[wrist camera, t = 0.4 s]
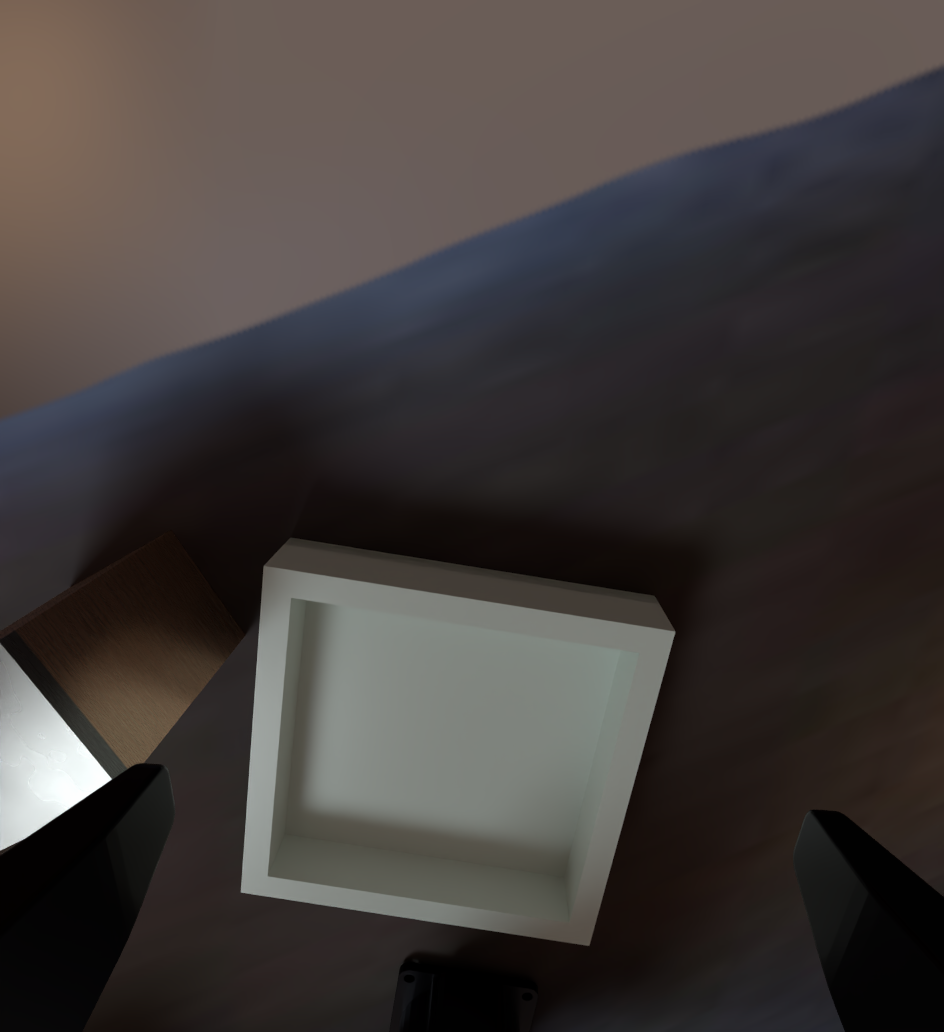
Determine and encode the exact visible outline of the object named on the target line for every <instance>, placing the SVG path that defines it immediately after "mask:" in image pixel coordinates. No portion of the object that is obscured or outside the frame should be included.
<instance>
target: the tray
mask: <svg viewBox="0 0 944 1032" xmlns="http://www.w3.org/2000/svg"><path fill="white" fill-rule="evenodd" d="M674 635H675V630H674V628H673V627H672V625H671V623H670V621H669V620H668V618H667V616H666V615H665V613H664V611H663V609H662V608H661V606H660V604H659V602H658V601H657V599H656V597H655V596H652V595H646V594H640V593H634V592H628V591H621V590H615V589H609V588H603V587H596V586H590V585H584V584H578V583H571V582H565V581H559V580H553V579H546V578H540V577H534V576H528V575H522V574H515V573H509V572H503V571H497V570H490V569H484V568H478V567H472V566H465V565H459V564H453V563H447V562H440V561H434V560H428V559H422V558H416V557H409V556H403V555H397V554H391V553H384V552H378V551H372V550H366V549H359V548H353V547H347V546H341V545H334V544H328V543H322V542H316V541H310V540H303V539H297V538H290V539H289V540H288V541H287V542H286V543H285V544H284V545H283V546H282V547H281V548H280V549H279V550H278V551H277V552H276V553H275V554H274V556H273V557H272V558H271V559H270V560H269V561H268V562H267V563H266V564H265V565H264V569H263V583H262V597H261V612H260V626H259V640H258V655H257V669H256V683H255V698H254V712H253V726H252V741H251V755H250V769H249V784H248V798H247V812H246V827H245V841H244V855H243V869H242V884H241V893H248V894H254V895H261V896H267V897H274V898H280V899H287V900H293V901H300V902H306V903H313V904H319V905H326V906H333V907H339V908H346V909H352V910H359V911H365V912H372V913H378V914H385V915H391V916H398V917H404V918H411V919H417V920H424V921H430V922H437V923H443V924H450V925H456V926H463V927H469V928H476V929H482V930H489V931H495V932H502V933H508V934H515V935H521V936H528V937H534V938H541V939H547V940H554V941H560V942H567V943H573V944H580V945H586V946H589V945H590V941H591V938H592V934H593V930H594V927H595V923H596V920H597V916H598V912H599V909H600V905H601V901H602V898H603V894H604V890H605V887H606V883H607V879H608V876H609V872H610V868H611V865H612V861H613V858H614V854H615V850H616V847H617V843H618V839H619V836H620V832H621V828H622V825H623V821H624V817H625V814H626V810H627V807H628V803H629V799H630V796H631V792H632V788H633V785H634V781H635V777H636V774H637V770H638V766H639V763H640V759H641V755H642V752H643V748H644V745H645V741H646V737H647V734H648V730H649V726H650V723H651V719H652V715H653V712H654V708H655V704H656V701H657V697H658V693H659V690H660V686H661V683H662V679H663V675H664V672H665V668H666V664H667V661H668V657H669V653H670V650H671V646H672V642H673V639H674Z"/></svg>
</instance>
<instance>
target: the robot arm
mask: <svg viewBox="0 0 944 1032" xmlns="http://www.w3.org/2000/svg"><path fill="white" fill-rule="evenodd" d="M174 816H175V804H174V798H173V792H172V787H171V781H170V775H169V771H168V769H167V768H166V766H164V765H161V764H146V763H138V764H135V765H133V766H131V767H129V768H128V769H126V770H125V771H124V772H122V773H121V774H119V775H118V776H116V777H115V778H113V779H112V780H110V781H109V782H107V783H106V784H104V785H103V786H101V787H100V788H99V789H97V790H96V791H94V792H93V793H91V794H90V795H88V796H87V797H85V798H84V799H82V800H81V801H79V802H78V803H77V804H75V805H74V806H72V807H71V808H69V809H68V810H66V811H65V812H63V813H62V814H60V815H59V816H57V817H56V818H54V819H53V820H52V821H50V822H49V823H47V824H46V825H44V826H43V827H41V828H40V829H38V830H37V831H35V832H34V833H32V834H31V835H30V836H28V837H27V838H25V839H24V840H22V841H21V842H19V843H18V844H16V845H15V846H13V847H12V848H10V849H9V850H8V851H6V852H5V853H3V854H2V855H0V1032H82V1031H83V1029H84V1027H85V1025H86V1023H87V1021H88V1019H89V1017H90V1015H91V1013H92V1011H93V1009H94V1007H95V1005H96V1003H97V1001H98V999H99V997H100V995H101V993H102V991H103V989H104V987H105V985H106V983H107V981H108V979H109V977H110V975H111V973H112V971H113V969H114V967H115V965H116V963H117V961H118V959H119V957H120V955H121V953H122V951H123V948H124V946H125V944H126V942H127V940H128V938H129V936H130V933H131V931H132V928H133V926H134V923H135V921H136V919H137V916H138V913H139V911H140V908H141V906H142V903H143V900H144V898H145V895H146V893H147V890H148V887H149V885H150V882H151V880H152V877H153V874H154V872H155V869H156V867H157V864H158V861H159V859H160V856H161V854H162V851H163V848H164V846H165V843H166V841H167V838H168V835H169V833H170V830H171V828H172V825H173V821H174ZM793 864H794V870H795V873H796V877H797V880H798V884H799V887H800V891H801V894H802V898H803V901H804V905H805V909H806V912H807V916H808V919H809V923H810V926H811V930H812V933H813V937H814V940H815V944H816V947H817V951H818V954H819V958H820V961H821V965H822V968H823V971H824V975H825V978H826V981H827V984H828V988H829V991H830V993H831V996H832V999H833V1001H834V1004H835V1007H836V1010H837V1012H838V1015H839V1017H840V1020H841V1023H842V1025H843V1028H844V1030H845V1032H944V897H943V896H942V895H941V894H940V893H938V892H937V891H936V890H935V889H934V888H932V887H931V886H930V885H929V884H928V883H926V882H925V881H924V880H923V879H921V878H920V877H919V876H918V875H917V874H915V873H914V872H913V871H912V870H911V869H909V868H908V867H907V866H906V865H905V864H903V863H902V862H901V861H900V860H899V859H897V858H896V857H895V856H894V855H893V854H891V853H890V852H889V851H888V850H887V849H885V848H884V847H883V846H882V845H881V844H879V843H878V842H877V841H876V840H875V839H873V838H872V837H871V836H870V835H868V834H867V833H866V832H865V831H864V830H862V829H861V828H860V827H859V826H858V825H856V824H855V823H854V822H853V821H852V820H850V819H849V818H848V817H847V816H845V815H844V814H842V813H840V812H837V811H827V810H810V811H809V812H808V813H807V814H806V816H805V818H804V821H803V824H802V827H801V830H800V833H799V836H798V839H797V842H796V845H795V848H794V853H793ZM537 1000H538V989H537V985H536V984H535V983H534V982H533V981H529V980H524V979H517V978H511V977H504V976H497V975H491V974H484V973H478V972H471V971H465V970H458V969H452V968H445V967H439V966H432V965H425V964H419V963H412V962H407V963H404V964H403V965H402V966H401V967H400V970H399V976H398V982H397V988H396V994H395V1000H394V1006H393V1012H392V1019H391V1025H390V1031H389V1032H530V1028H531V1024H532V1020H533V1016H534V1012H535V1008H536V1004H537Z"/></svg>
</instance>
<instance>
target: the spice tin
mask: <svg viewBox="0 0 944 1032" xmlns="http://www.w3.org/2000/svg"><path fill="white" fill-rule="evenodd" d="M244 636H245V634H244V632H243V631H242V630H241V628H240V627H239V625H238V624H237V623H236V621H235V620H234V618H233V617H232V615H231V614H230V613H229V611H228V610H227V608H226V607H225V606H224V604H223V603H222V601H221V600H220V598H219V597H218V596H217V594H216V593H215V591H214V590H213V589H212V587H211V586H210V584H209V583H208V581H207V580H206V579H205V577H204V576H203V574H202V573H201V572H200V570H199V569H198V567H197V566H196V565H195V563H194V562H193V560H192V559H191V557H190V556H189V555H188V553H187V552H186V550H185V549H184V548H183V546H182V545H181V543H180V542H179V541H178V539H177V538H176V536H175V535H174V533H173V532H172V531H171V530H170V531H169V532H167V533H165V534H163V535H162V536H160V537H158V538H156V539H155V540H153V541H151V542H149V543H147V544H146V545H144V546H142V547H140V548H139V549H137V550H135V551H133V552H132V553H130V554H128V555H126V556H125V557H123V558H121V559H119V560H118V561H116V562H114V563H112V564H111V565H109V566H107V567H105V568H104V569H102V570H100V571H98V572H96V573H95V574H93V575H91V576H89V577H88V578H86V579H84V580H82V581H81V582H79V583H77V584H75V585H74V586H72V587H70V588H68V589H67V590H65V591H64V592H62V593H60V594H59V595H57V596H56V597H54V598H52V599H51V600H49V601H48V602H46V603H44V604H43V605H41V606H40V607H38V608H36V609H35V610H33V611H32V612H30V613H28V614H27V615H25V616H24V617H22V618H20V619H19V620H17V621H16V622H14V623H12V624H11V625H9V626H8V627H6V628H4V629H3V630H1V631H0V850H2V849H4V848H6V847H8V846H10V845H12V844H15V843H17V842H19V841H21V840H23V839H25V838H27V837H28V836H30V835H31V834H32V833H34V832H35V831H37V830H38V829H40V828H41V827H43V826H44V825H46V824H47V823H49V822H50V821H52V820H53V819H54V818H56V817H57V816H59V815H60V814H62V813H63V812H65V811H66V810H68V809H69V808H71V807H72V806H74V805H75V804H77V803H78V802H79V801H81V800H82V799H84V798H85V797H87V796H88V795H90V794H91V793H93V792H94V791H96V790H97V789H99V788H100V787H101V786H103V785H104V784H106V783H107V782H109V781H110V780H112V779H113V778H115V777H116V776H118V775H119V774H121V773H122V772H124V771H125V770H126V769H128V768H129V767H131V766H133V765H135V764H138V763H144V762H145V761H146V759H147V758H148V757H149V756H150V754H151V753H152V752H153V751H154V749H155V748H156V747H157V746H158V744H159V743H160V742H161V741H162V739H163V738H164V737H165V736H166V734H167V733H168V732H169V731H170V729H171V728H172V727H173V726H174V724H175V723H176V722H177V721H178V719H179V718H180V717H181V716H182V714H183V713H184V712H185V710H186V709H187V708H188V707H189V705H190V704H191V703H192V702H193V700H194V699H195V698H196V697H197V695H198V694H199V693H200V692H201V690H202V689H203V688H204V687H205V685H206V684H207V683H208V682H209V680H210V679H211V678H212V677H213V675H214V674H215V673H216V672H217V670H218V669H219V668H220V667H221V665H222V664H223V663H224V662H225V660H226V659H227V658H228V657H229V655H230V654H231V653H232V652H233V650H234V649H235V648H236V647H237V645H238V644H239V643H240V641H241V640H242V639H243V638H244Z"/></svg>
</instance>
